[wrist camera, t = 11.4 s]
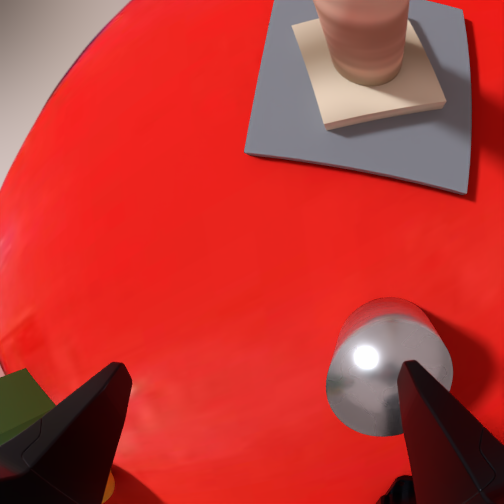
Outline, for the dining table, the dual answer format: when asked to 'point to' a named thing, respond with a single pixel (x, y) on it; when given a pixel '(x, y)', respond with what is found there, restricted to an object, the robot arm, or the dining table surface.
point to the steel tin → (381, 363)
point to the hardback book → (20, 404)
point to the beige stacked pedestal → (366, 62)
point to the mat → (372, 132)
